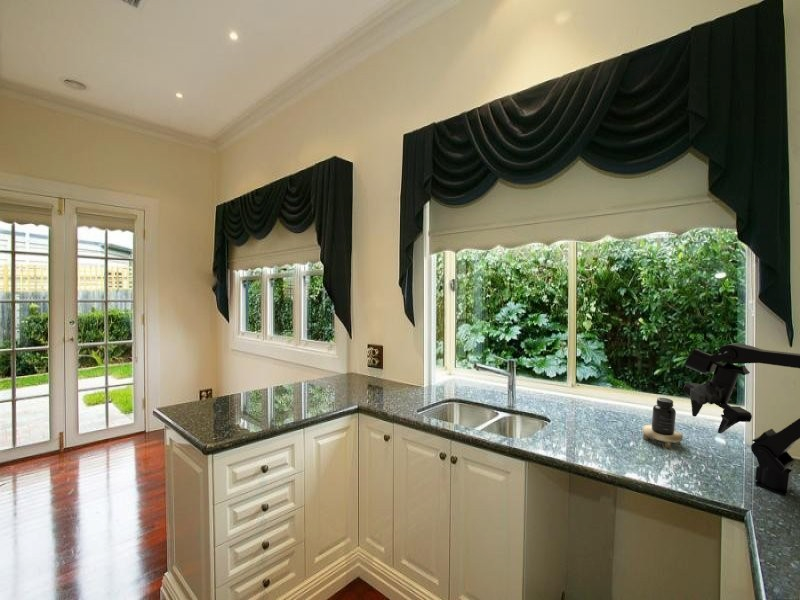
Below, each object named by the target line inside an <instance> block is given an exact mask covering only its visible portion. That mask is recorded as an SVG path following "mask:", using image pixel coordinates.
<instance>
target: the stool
mask: <svg viewBox="0 0 800 600" xmlns="http://www.w3.org/2000/svg"><path fill="white" fill-rule="evenodd" d="M641 430H642V434H643V436H642V439H643V440H644V441H649V438H650V439H654V440H657V441H661V442H664V448H666V449H671V448H672V447H671V446H672V443H675V444H678V445H679V444H681V442H682V441H683V438H684V436H683V433H681V432H680V431H678V430H676V429H674V434H673V435H662V434H658V433H656V432H654V431H653V430H652V424H645V425H643V426H642V429H641Z"/></svg>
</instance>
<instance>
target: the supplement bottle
mask: <svg viewBox="0 0 800 600" xmlns="http://www.w3.org/2000/svg"><path fill="white" fill-rule="evenodd" d="M676 415H677V411H676V409H675V408H674V401H673V399H670V398H668V397H657V399H656V404H655V405H653V406H652V417H651V425H652V430H653V431H654V432H656V433H658V434H662V435H673V434H674V430H676V428H675V426H676Z"/></svg>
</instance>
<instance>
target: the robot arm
mask: <svg viewBox="0 0 800 600" xmlns="http://www.w3.org/2000/svg"><path fill="white" fill-rule="evenodd" d="M724 362H725V363H724ZM736 364H742V365H736ZM743 364H744V365H743ZM745 364H764V365H771V366H772V365H773V366H779V367H788V368H793V369H794V368H795V369H800V353H795V352H787V351H786V352H785V351H778V350H769V349H768V350H767V349H763V348H759V347H755V346H753V345H748V344H745V343H740V342H735V343H729V344H724V345H723V346H721V347H720V349H719V351H718V352H716V353H713V354H711V353H708V352H705V351H704V350H701V349H699V348H694V349H693V350H692V352H691V353H689V355H688V357H687V358H686V359H685V364H684V365H685V367H686V368H689V369H691V370H693V371H696V372H698V373H701V374H702V375H703V374H704V375H708V374H712V377H711V379H706V380H707V381H706V382H705V383H704V385H702V384H701V383H696V382H695V383H694V382H687V383H685V384H684V385H683V388H682V391H684V392H685V395H686V396H688V398H689V399H690V404H691V414H692V417H697V416H698V414H699V413H700V412H701V410H702V409H703V406H704V405H706V404H709V405H716V406H718V408H721V409H722V413H723V414H720V417H721V421H720V424H719V426H718V429H717V433H718V434H723V433H724V432H725V431H727V430H728V429H730V428H731V427H732V426H734V425H736V424H738V423H740V422H741V423H742V422H743V423H750V422H751V421H752V418H753V414H752V413H751V412H750V411H748V410H746V409H745V408H743V407H741V406H735V405H733V406H732V405H729V404H731V403H732V402H733V399H731V395H732V394H733V392H737V390H738V387H736V383H737V381H738V378H739V375H742V376H747V375H749V374H750V371H749V370H748V369H747V366H746V365H745ZM798 440H800V418H798V419H796V420H794V421H793V422H791V423H790V424H789V425H787V426H786V427H784V428H783V429H781V430H779V431H777V432H776V431H775V430H774V429H773V428H770V429H767V430H766V431H764V432H763V433H762V434H761V435H760V436H758V437H755V438H753V439H752V442H753V443H752V444H751V446H750V448H751V452H752V454H753V456H755V457H756V460H757V462H758V465H757V466H756V469H755V478H754V480H755V482H754V484H755V485H756V486H758V487H762V488H763V489H766V490H769V491H771V492H774V493H777V494H780V495H783V496H786V495H788V494H789V493H791V491H792V490H793V487H792V485H791V484H792V477H793V469H790V468H792V467H793V466H794V464H795V463H796V460H795V459H794V458H793V457H792V456H791V454H790V453H789V452H788V451H789V450H790V448H791V447H792V446H793V445H794V444H795V443H796V442H797V441H798Z"/></svg>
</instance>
